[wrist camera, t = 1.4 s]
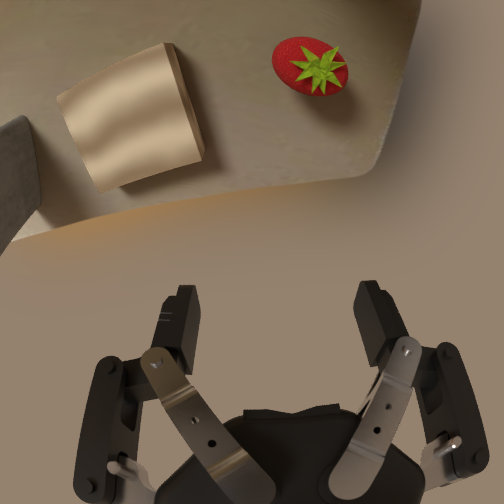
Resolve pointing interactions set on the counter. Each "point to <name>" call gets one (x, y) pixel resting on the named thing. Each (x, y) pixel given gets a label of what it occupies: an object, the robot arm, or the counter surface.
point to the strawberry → (310, 66)
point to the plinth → (133, 119)
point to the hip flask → (17, 178)
